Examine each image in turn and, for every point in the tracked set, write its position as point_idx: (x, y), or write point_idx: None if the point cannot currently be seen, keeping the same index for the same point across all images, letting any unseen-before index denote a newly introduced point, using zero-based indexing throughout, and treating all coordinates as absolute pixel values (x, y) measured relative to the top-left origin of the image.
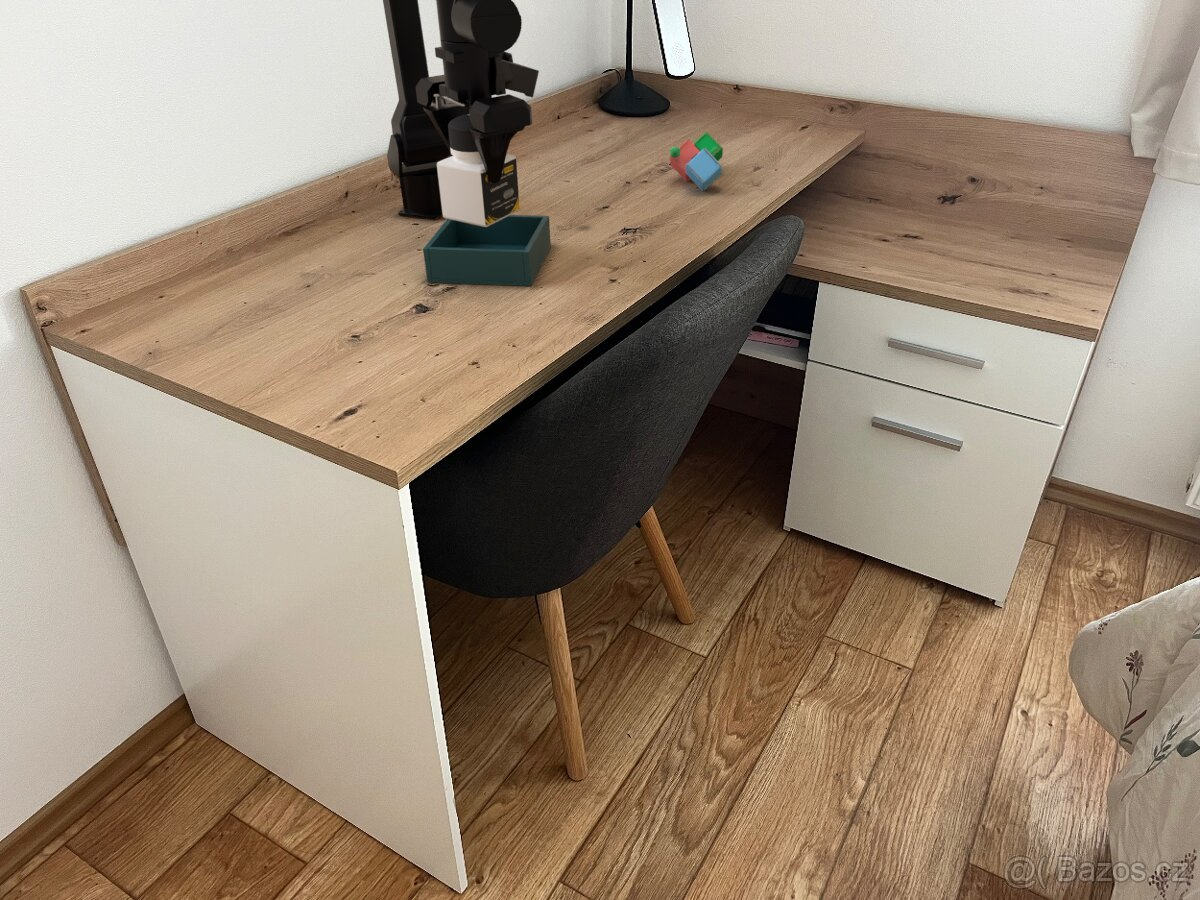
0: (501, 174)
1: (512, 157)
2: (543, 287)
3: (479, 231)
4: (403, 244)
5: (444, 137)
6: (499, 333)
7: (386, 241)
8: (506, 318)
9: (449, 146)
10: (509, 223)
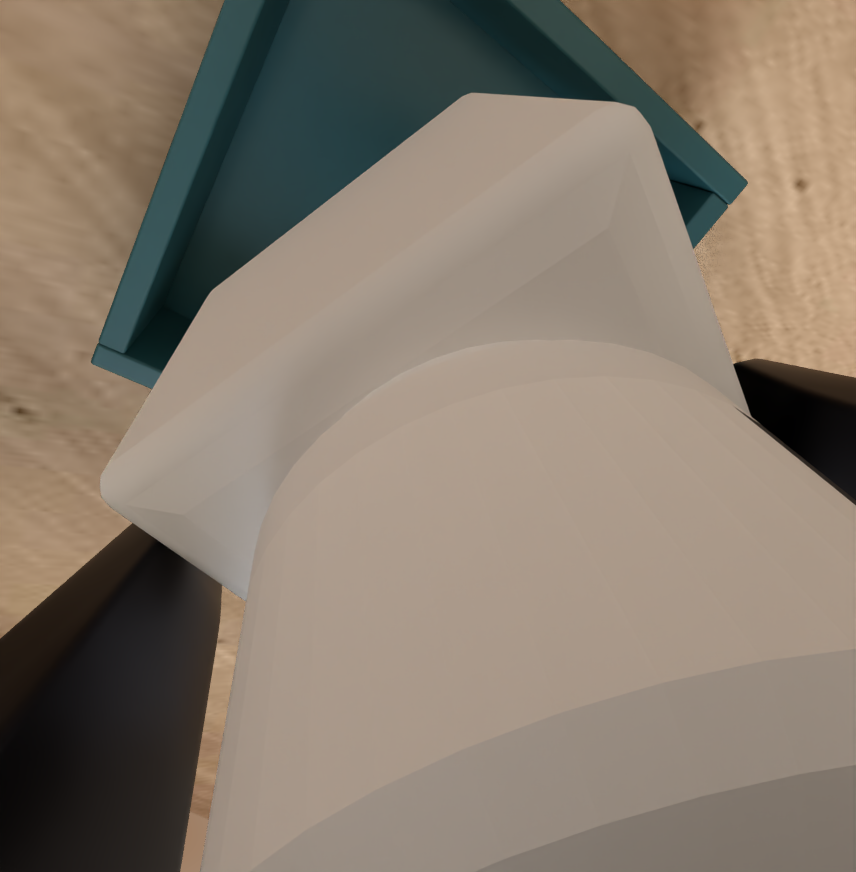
0: (812, 371)
1: (664, 176)
2: (702, 118)
3: (184, 234)
4: (87, 465)
5: (183, 821)
6: (848, 357)
7: (43, 505)
8: (796, 316)
9: (203, 708)
10: (238, 86)
